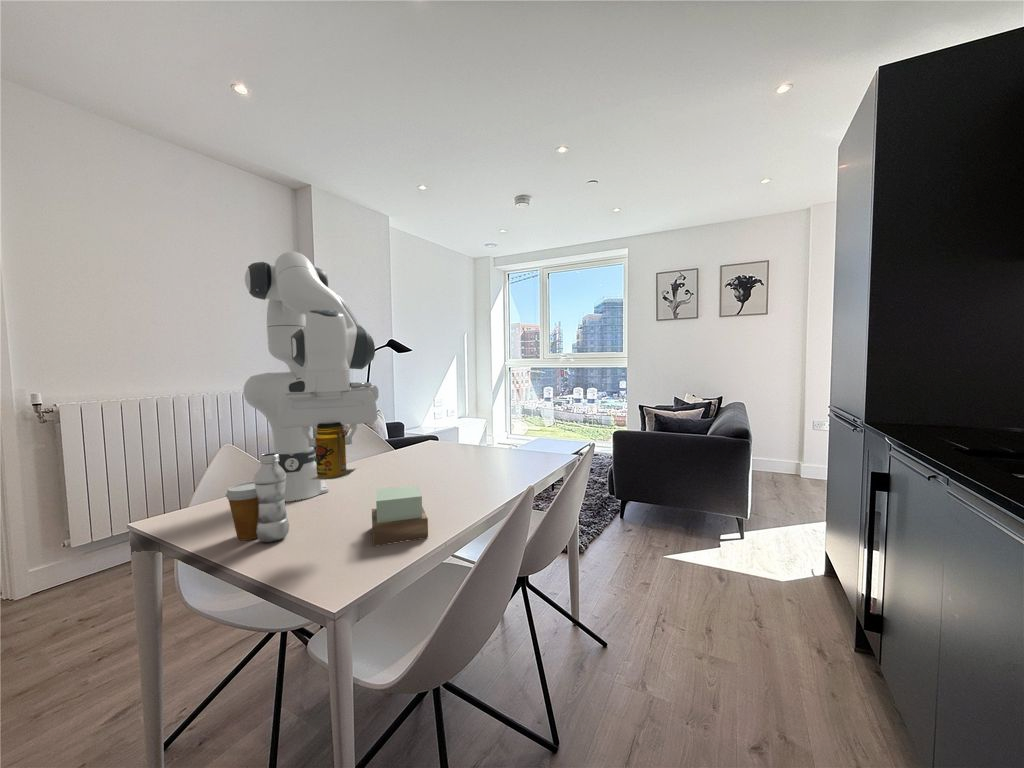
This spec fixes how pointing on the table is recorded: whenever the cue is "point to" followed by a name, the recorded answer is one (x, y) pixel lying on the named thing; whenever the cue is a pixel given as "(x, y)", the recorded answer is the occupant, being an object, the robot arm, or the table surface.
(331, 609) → the table surface
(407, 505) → the top block
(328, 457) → the condiment
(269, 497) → the plastic bottle
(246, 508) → the disposable coffee cup
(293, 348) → the robot arm
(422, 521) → the base block
